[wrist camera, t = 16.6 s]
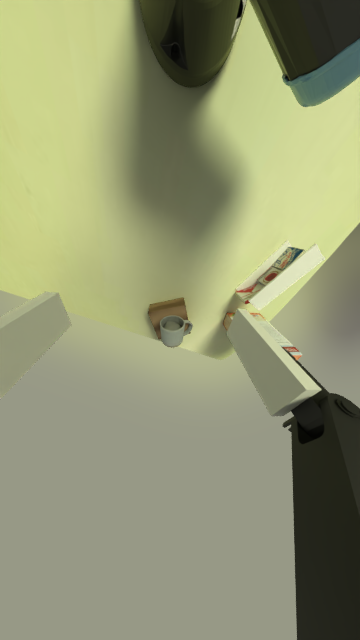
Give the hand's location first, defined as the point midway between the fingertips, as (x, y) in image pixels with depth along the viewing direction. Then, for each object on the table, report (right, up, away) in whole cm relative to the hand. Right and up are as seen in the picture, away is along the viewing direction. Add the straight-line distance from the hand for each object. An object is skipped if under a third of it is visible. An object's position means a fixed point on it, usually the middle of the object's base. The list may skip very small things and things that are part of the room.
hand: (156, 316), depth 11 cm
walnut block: (-2, +2, +40) cm, 40 cm away
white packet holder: (+29, +15, +33) cm, 46 cm away
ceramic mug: (+1, -2, +35) cm, 35 cm away
